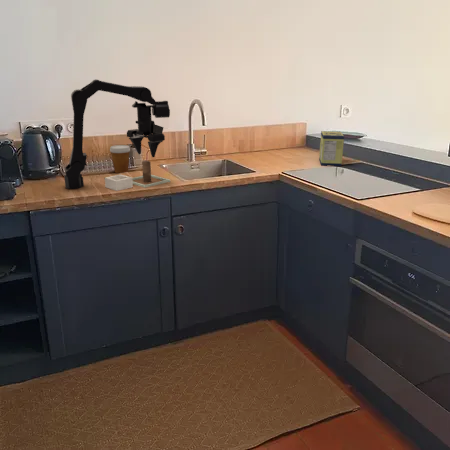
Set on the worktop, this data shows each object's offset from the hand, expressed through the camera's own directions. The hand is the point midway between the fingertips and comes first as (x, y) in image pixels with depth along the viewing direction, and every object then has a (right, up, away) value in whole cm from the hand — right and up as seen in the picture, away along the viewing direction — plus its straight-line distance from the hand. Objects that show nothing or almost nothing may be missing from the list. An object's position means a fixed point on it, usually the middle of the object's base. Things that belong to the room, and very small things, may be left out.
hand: (146, 155), depth 201 cm
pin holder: (-10, -15, -5) cm, 19 cm away
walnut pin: (0, -11, +4) cm, 12 cm away
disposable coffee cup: (-16, -4, +24) cm, 29 cm away
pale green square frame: (0, -12, +4) cm, 12 cm away
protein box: (+89, +3, +48) cm, 101 cm away
